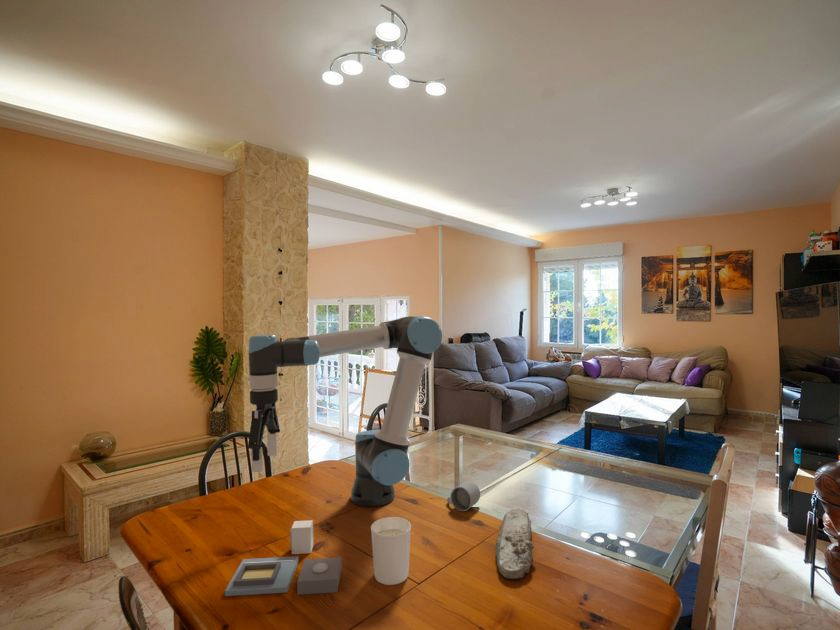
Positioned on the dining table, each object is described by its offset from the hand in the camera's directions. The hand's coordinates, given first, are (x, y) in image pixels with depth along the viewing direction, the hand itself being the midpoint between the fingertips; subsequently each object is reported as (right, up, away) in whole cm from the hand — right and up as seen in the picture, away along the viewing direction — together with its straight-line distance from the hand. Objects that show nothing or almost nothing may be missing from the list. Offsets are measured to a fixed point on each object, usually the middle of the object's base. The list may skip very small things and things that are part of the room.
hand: (265, 463), depth 126 cm
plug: (+12, -22, -6) cm, 26 cm away
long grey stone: (+71, -21, -5) cm, 74 cm away
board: (+6, -22, -19) cm, 29 cm away
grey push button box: (+20, -21, -21) cm, 36 cm away
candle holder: (+37, -21, -18) cm, 47 cm away
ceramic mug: (+58, -21, +20) cm, 65 cm away
